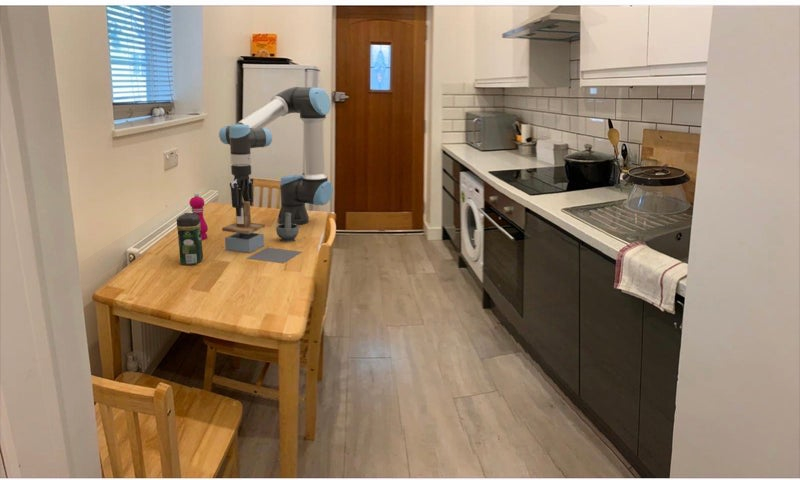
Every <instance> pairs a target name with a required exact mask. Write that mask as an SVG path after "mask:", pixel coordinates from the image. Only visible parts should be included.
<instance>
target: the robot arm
mask: <svg viewBox="0 0 800 480" xmlns="http://www.w3.org/2000/svg"><path fill="white" fill-rule="evenodd" d="M331 104H332V103H331V99H330V96H329V94H328V92H327V90H325V89H324V88H321V87H313V86H312V87H303V86H301V87H300V86H293V87H289V88H286V89H284V90H283V91H280V92H279V93H277V94H276V95H274V96H272V98H271V99H270V101H269V102H268V103H265V104H264V105H263V106H261V107H260V108H258V109H257V110H255V111H254V112H252V113H250V114H249V115H247V116H246V117H244V118H242V119H240V120H239V121H238V122H236V123H234V124H231V125H224V126H222V127H221V128H220V129H219V133H218V138H219V141H220V142H221V143H222V144H224V145H228V146H230V164H231V166H230V168H231V169H230V170H231V175H232V176H234V178H233V181H232V182H230V183H229V187H230V198H231V206H232V208H234V209H235V216H236V215H237V224H244V216H243V208H242V201H250V206H253V203H254V187H253V185H254V178H250V176H251V174H252V165H251V162H252V161H251V160H252V157H251V149H256V148H266V147H268V146H270V145H271V144H272V142H273V134H272V132H271V130H269V129H268V128H265V127H266V126H268V125H269V124H271V123H272V122H273V121H276V119H278V118H279V117H285V116H286V115H288V114H299V118H300V120H301V121H302V122H303V133H304V134H303V136H304V137H303V138H304V139H303V141H304V157H305V158H304V159H305V160H304V161H305V173H304V174H292V175H285V176H282V177H281V178H280V185H279V186H280V189H279V190H280V210H279V213H278V216H277V222H278V224H279V225H280V224H285V217H286V216H285V213H291V224H296V225H299V226H301V225H305V224H308V223H309V222H310V217H309V214H308V211H307V208H306V204H307V205H308V204H311V205H314V206H325V205H327V204H328V203H329V202H330V201H331V199H332V196H333V193H334V186H333V184H332V182H330V181H329V180H328V175H327V174H326V173H325V161H324V160H325V159H324V158H325V156H324V130H323V129H324V127H323V126H324V123H323V122H324V121H325V119H327V117H326V115H328V114H329V113H330V110H331V106H332V105H331Z"/></svg>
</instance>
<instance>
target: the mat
mask: <svg viewBox="0 0 800 480" xmlns="http://www.w3.org/2000/svg"><path fill="white" fill-rule="evenodd" d="M302 253H303V251H299V250H290V249H284V248H283V249H282V248H277V247H266V248H264V249H261V250H260V251H258V252H256V253H254V254H252V255H250V256H248V257H246V260H247V259H248V260H255V261H260V262H261V261H263V262H270V263H276V264H277V263H278V264H285V263H287V262H288V261H290V260H291V259H293V258H295V257H297V256H298V255H300V254H302Z"/></svg>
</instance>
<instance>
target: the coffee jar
mask: <svg viewBox="0 0 800 480" xmlns="http://www.w3.org/2000/svg"><path fill="white" fill-rule="evenodd" d="M176 229H177V238H178V249H179V262H180V264H181V265H187V266H194V265H198V264H200V263H201V262H203V260H204V259H203V258H204V253H203V251H204V250H203V240H201V227H200V217H199V215H197V214H196V213H193V212H184V213H183V214H181V215H179V216H178V217H177V218H176Z"/></svg>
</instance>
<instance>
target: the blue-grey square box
mask: <svg viewBox="0 0 800 480" xmlns="http://www.w3.org/2000/svg"><path fill="white" fill-rule="evenodd" d="M264 237H265V235H264V233H262V232H261V233H259V232H252V233H250V234H244V233H236V232H233V233H232V234H230V235H228V236H225V237H224V240H225V241H224V243H225V244H224V245H225V251H230V252H237V253H246V254H251V253H253V252H254V251H255V252H256V251H257V250H259V249H261V248H263V247H264V246H265V238H264Z"/></svg>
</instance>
